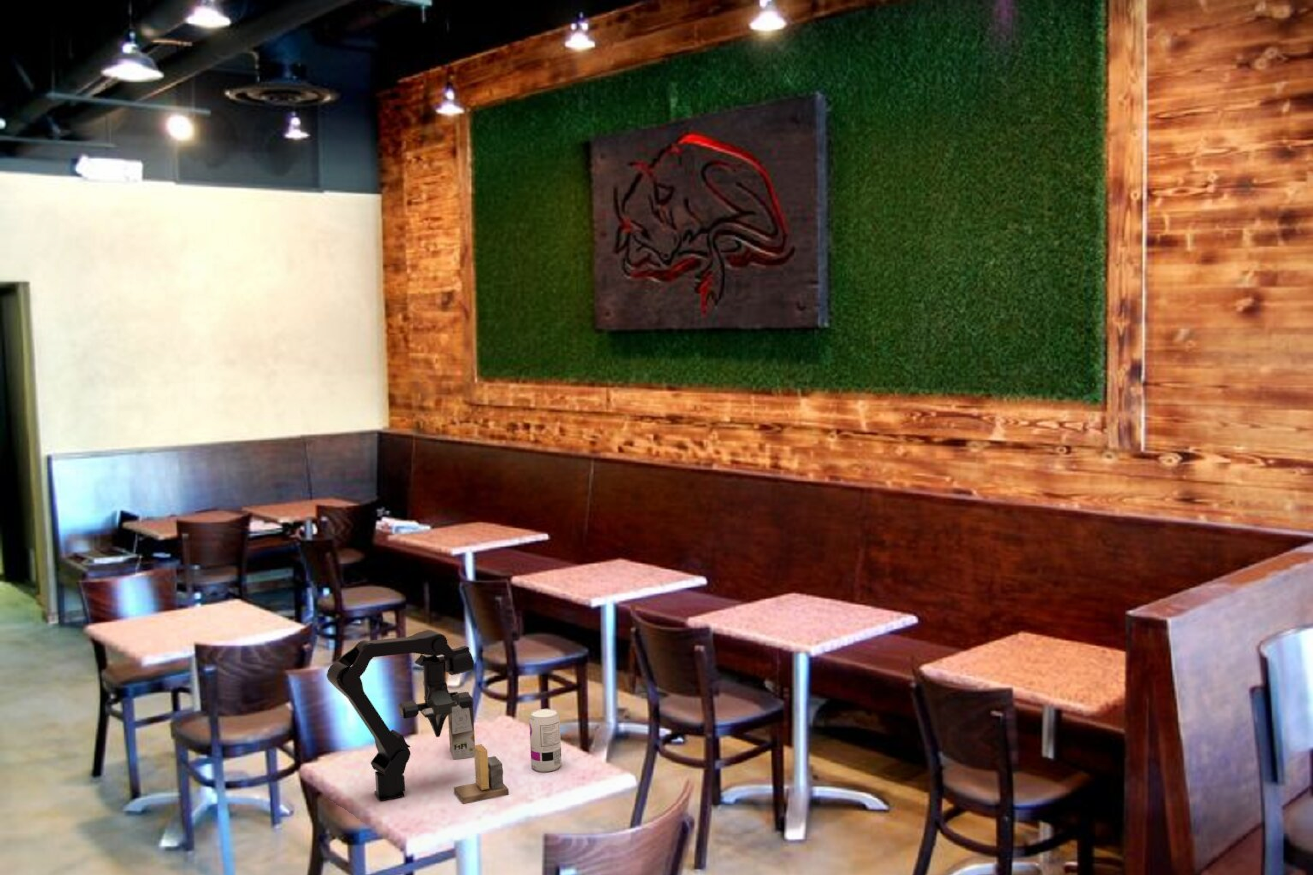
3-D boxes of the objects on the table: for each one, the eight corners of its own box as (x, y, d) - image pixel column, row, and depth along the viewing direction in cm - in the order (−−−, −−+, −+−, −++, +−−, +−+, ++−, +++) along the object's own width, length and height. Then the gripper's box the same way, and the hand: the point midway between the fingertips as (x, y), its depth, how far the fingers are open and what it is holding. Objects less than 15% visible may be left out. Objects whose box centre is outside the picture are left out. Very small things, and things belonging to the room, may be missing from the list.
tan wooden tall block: (481, 790, 303) (479, 751, 302) (475, 783, 307) (473, 745, 306) (505, 785, 305) (503, 747, 304) (499, 778, 310) (497, 741, 309)
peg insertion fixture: (462, 803, 299) (461, 772, 298) (454, 792, 306) (452, 762, 306) (508, 794, 304) (507, 763, 304) (498, 783, 312) (497, 754, 311)
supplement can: (527, 771, 319) (524, 717, 318) (537, 760, 327) (535, 707, 326) (555, 773, 317) (553, 718, 316) (565, 762, 325) (563, 708, 324)
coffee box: (476, 756, 332) (473, 700, 330) (453, 759, 330) (450, 703, 328) (471, 745, 340) (468, 691, 339) (448, 748, 338) (446, 693, 337)
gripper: (406, 692, 301) (410, 752, 303) (478, 681, 309) (481, 739, 311) (396, 681, 311) (399, 739, 313) (466, 670, 319) (468, 726, 321)
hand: (437, 736), depth 314 cm, fingers closed
